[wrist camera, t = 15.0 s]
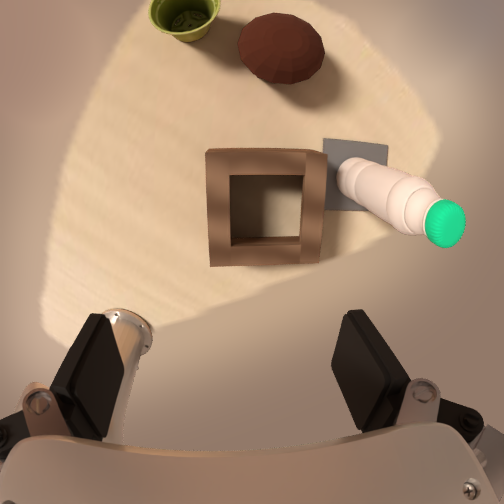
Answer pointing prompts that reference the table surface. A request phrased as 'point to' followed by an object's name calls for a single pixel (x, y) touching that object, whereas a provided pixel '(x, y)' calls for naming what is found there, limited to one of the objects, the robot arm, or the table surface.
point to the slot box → (265, 163)
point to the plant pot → (183, 17)
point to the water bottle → (402, 201)
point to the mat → (336, 156)
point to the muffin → (281, 48)
